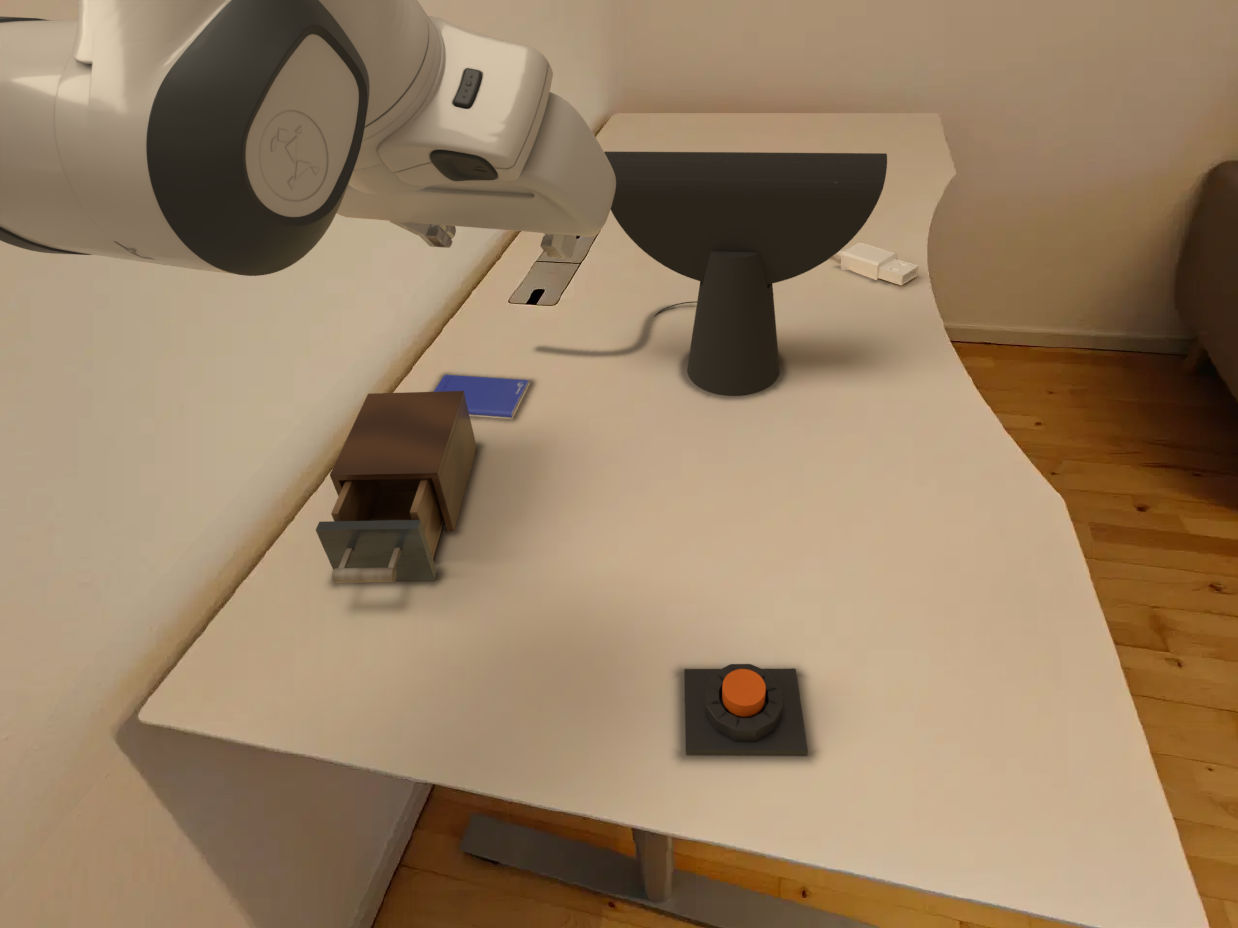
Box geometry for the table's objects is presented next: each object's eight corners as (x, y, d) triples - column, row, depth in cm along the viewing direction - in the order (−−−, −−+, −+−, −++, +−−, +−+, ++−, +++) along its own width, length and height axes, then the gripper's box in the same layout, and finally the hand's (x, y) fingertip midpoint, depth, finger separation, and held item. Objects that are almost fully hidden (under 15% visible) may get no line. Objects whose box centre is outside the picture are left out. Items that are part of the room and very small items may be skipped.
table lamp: (572, 452, 100) (541, 222, 81) (536, 337, 121) (505, 133, 102) (870, 391, 106) (909, 162, 86) (787, 291, 127) (802, 89, 107)
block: (805, 761, 68) (809, 738, 65) (686, 760, 68) (685, 738, 66) (794, 679, 74) (797, 656, 71) (684, 679, 74) (683, 656, 72)
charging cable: (760, 228, 146) (760, 210, 144) (918, 279, 126) (921, 259, 124) (741, 238, 144) (741, 219, 142) (898, 291, 124) (901, 271, 122)
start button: (766, 717, 68) (767, 705, 66) (723, 717, 68) (723, 705, 67) (762, 680, 70) (763, 668, 69) (721, 680, 71) (721, 668, 69)
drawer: (425, 611, 81) (407, 559, 76) (325, 612, 82) (301, 560, 77) (459, 492, 95) (445, 441, 90) (373, 494, 96) (354, 443, 90)
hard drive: (529, 378, 110) (445, 372, 113) (511, 414, 104) (422, 407, 107) (531, 388, 111) (447, 382, 114) (513, 424, 105) (425, 417, 108)
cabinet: (455, 536, 91) (437, 472, 84) (354, 538, 91) (329, 475, 85) (478, 452, 102) (463, 390, 95) (388, 455, 102) (367, 393, 96)
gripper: (218, 149, 45) (365, 271, 58) (535, 163, 38) (626, 300, 50) (258, 55, 47) (393, 194, 59) (572, 49, 39) (652, 211, 52)
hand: (502, 243), depth 55 cm, fingers open, 8 cm apart
